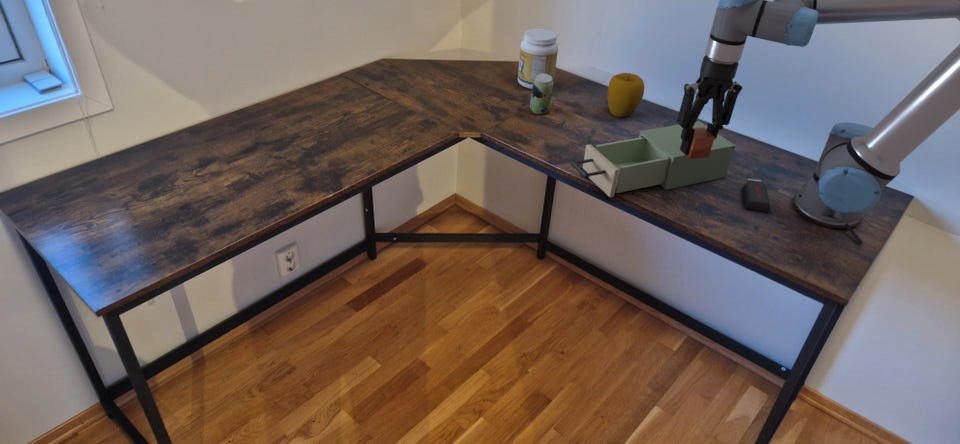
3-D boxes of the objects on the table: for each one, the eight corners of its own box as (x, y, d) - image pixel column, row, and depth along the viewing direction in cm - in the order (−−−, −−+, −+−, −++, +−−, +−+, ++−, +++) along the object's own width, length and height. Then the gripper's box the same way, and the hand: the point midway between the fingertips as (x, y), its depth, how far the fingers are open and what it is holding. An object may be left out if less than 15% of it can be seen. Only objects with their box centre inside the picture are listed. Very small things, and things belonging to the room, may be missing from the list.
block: (708, 157, 155) (714, 137, 152) (689, 159, 154) (695, 138, 150) (698, 147, 159) (704, 127, 156) (679, 148, 158) (685, 128, 154)
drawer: (588, 201, 159) (593, 174, 154) (561, 174, 169) (565, 148, 164) (670, 184, 167) (677, 158, 163) (640, 159, 177) (646, 134, 173)
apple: (636, 124, 197) (644, 84, 189) (600, 118, 199) (607, 78, 192) (640, 110, 205) (649, 71, 198) (606, 104, 208) (613, 65, 200)
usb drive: (746, 208, 162) (749, 199, 160) (741, 184, 171) (744, 175, 170) (768, 212, 161) (771, 203, 159) (762, 187, 170) (765, 178, 169)
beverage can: (544, 106, 204) (548, 69, 197) (553, 116, 198) (558, 79, 191) (525, 107, 202) (529, 71, 195) (534, 118, 197) (538, 81, 190)
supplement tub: (514, 75, 222) (518, 27, 213) (549, 76, 224) (555, 27, 214) (520, 90, 213) (524, 40, 203) (556, 90, 214) (563, 40, 204)
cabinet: (665, 190, 167) (673, 157, 161) (633, 162, 178) (639, 131, 172) (725, 177, 174) (735, 145, 168) (690, 151, 184) (699, 120, 179)
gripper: (748, 50, 147) (720, 141, 161) (676, 52, 143) (653, 145, 157) (767, 63, 141) (736, 156, 155) (692, 66, 137) (667, 161, 151)
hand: (694, 151), depth 156 cm, fingers closed on block, 5 cm apart
